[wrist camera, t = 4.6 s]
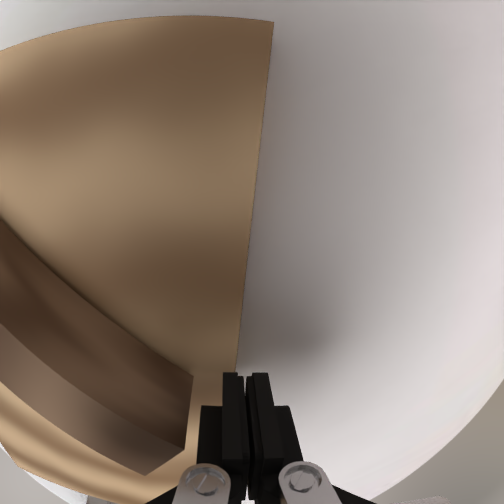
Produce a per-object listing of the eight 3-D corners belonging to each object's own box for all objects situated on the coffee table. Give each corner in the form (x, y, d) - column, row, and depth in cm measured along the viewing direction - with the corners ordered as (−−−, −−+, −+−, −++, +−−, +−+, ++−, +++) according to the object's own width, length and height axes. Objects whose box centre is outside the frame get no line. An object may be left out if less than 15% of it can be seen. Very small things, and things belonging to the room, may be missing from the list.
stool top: (-53, 87, 8) (-67, 85, 6) (269, 37, 10) (274, 22, 8) (23, 456, 16) (18, 466, 15) (220, 504, 18) (220, 517, 17)
